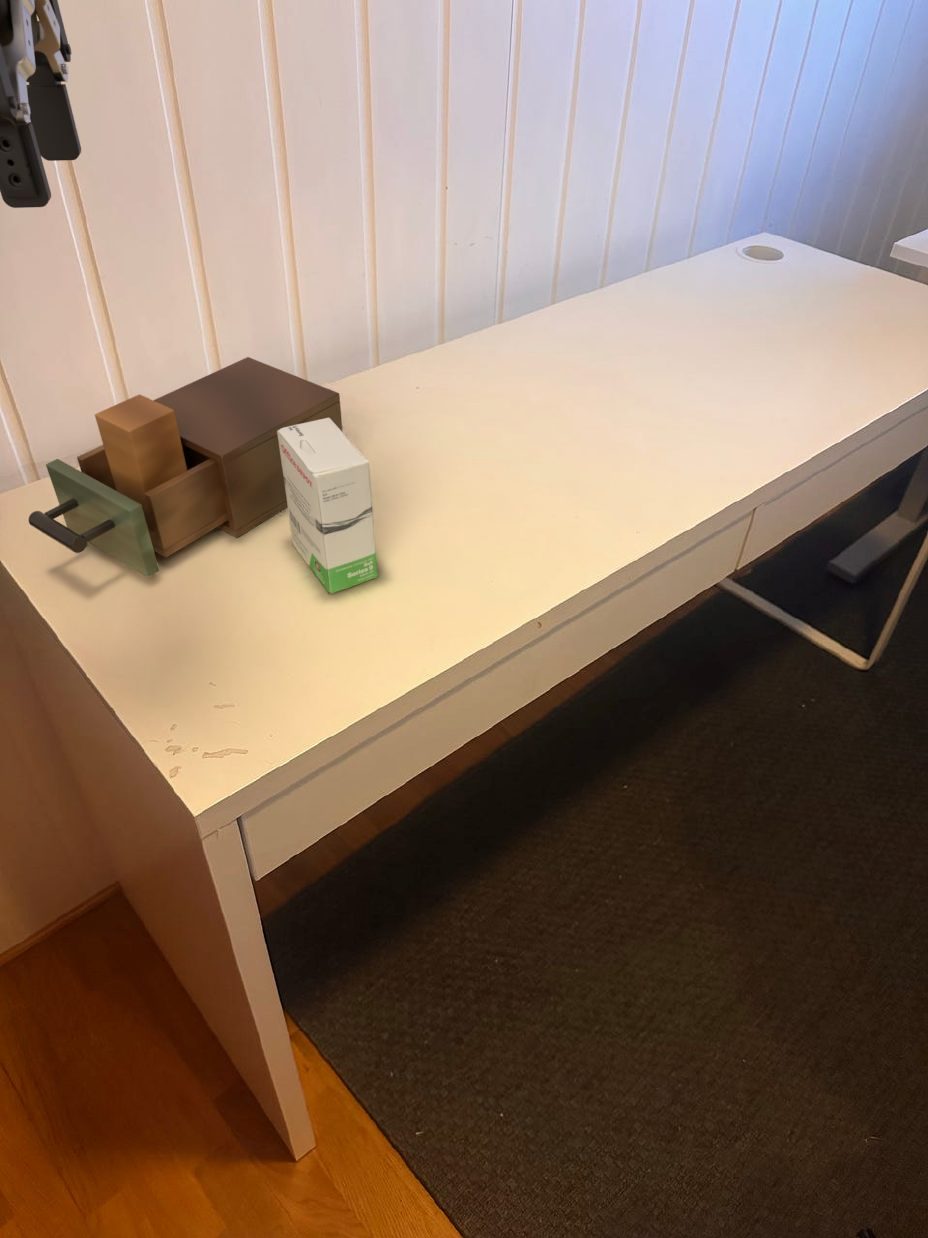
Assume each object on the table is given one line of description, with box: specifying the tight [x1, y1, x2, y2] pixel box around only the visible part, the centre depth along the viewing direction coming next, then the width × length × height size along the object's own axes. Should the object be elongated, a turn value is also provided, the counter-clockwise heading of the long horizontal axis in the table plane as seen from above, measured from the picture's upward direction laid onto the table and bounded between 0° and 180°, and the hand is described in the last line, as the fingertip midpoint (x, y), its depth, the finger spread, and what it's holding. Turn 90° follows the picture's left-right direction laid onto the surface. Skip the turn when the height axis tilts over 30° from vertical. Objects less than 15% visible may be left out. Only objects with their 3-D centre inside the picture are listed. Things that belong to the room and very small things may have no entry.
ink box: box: [277, 418, 379, 594], centre depth 75 cm, size 9×5×12 cm, turn 30°
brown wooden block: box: [94, 394, 187, 531], centre depth 78 cm, size 5×5×10 cm
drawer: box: [28, 444, 228, 578], centre depth 79 cm, size 18×11×7 cm, turn 143°
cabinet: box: [152, 356, 344, 539], centre depth 86 cm, size 15×13×9 cm
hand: (47, 180), depth 49 cm, fingers open, 8 cm apart
